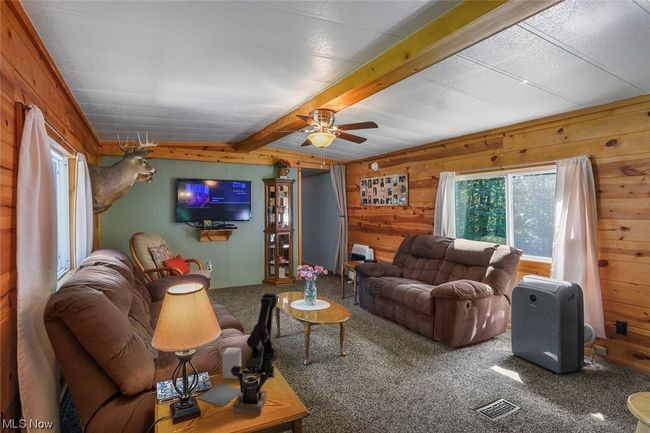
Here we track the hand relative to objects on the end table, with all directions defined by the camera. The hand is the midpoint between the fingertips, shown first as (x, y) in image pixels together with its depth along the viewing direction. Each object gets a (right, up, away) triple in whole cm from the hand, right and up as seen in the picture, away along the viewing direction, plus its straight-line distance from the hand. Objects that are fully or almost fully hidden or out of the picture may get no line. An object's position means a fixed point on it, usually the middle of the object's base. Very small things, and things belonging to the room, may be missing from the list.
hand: (249, 392), depth 146 cm
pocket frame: (0, -7, +2) cm, 7 cm away
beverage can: (0, -7, +2) cm, 7 cm away
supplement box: (-15, -5, +27) cm, 31 cm away
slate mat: (-15, -6, +10) cm, 19 cm away
